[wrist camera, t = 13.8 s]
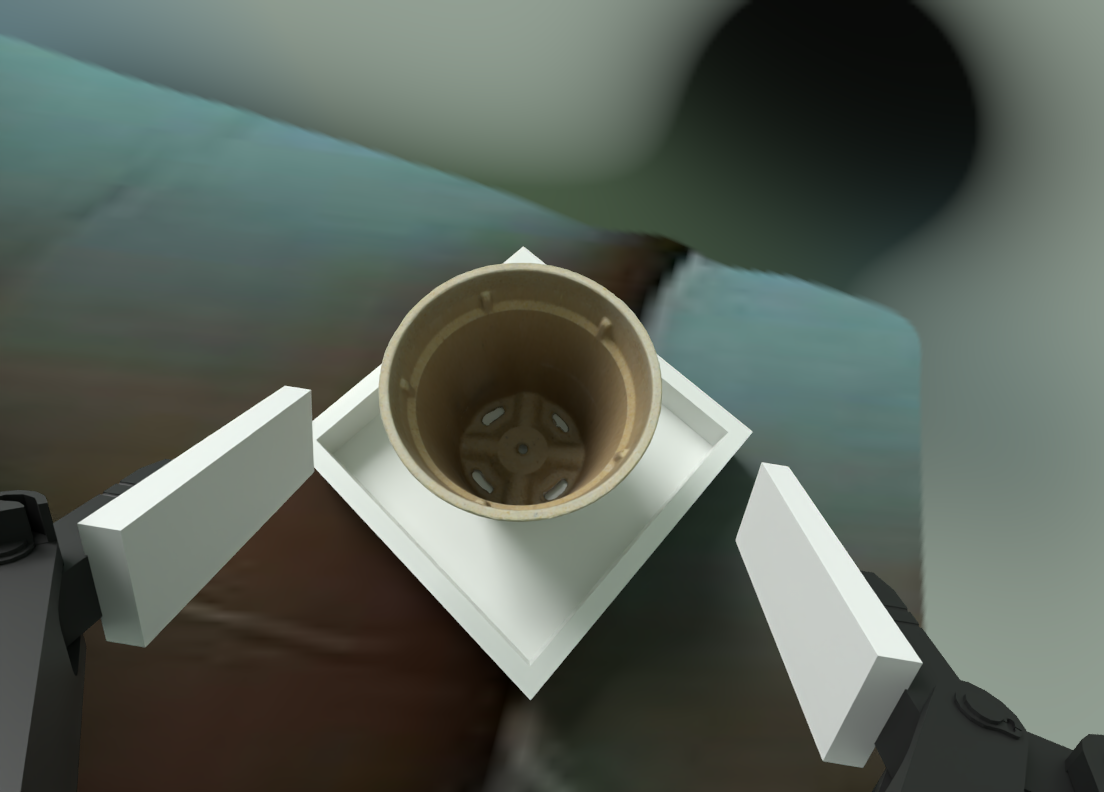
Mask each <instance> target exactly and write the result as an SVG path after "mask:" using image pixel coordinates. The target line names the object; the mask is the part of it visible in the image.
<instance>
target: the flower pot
mask: <svg viewBox="0 0 1104 792" xmlns="http://www.w3.org/2000/svg"><path fill="white" fill-rule="evenodd" d="M382 362H383V363H382V366H381V370H380V376H379V389H378V392H379V408H380V414H381V418H382V422H383V425H384V428H385V431H386V433H387V435H388V438H389V441H390V443H391V445H392V446H393V448H394V450H395V452H396V454H397V455H398V457H399V458H400V460H401V461H402V463H403V464H404V466H405V467H406V468H407V469H408V471H409V472H410V473H411V474H412V475H413V476H414V477H415V478H416V479H417V480H418V481H419V482H420V483H421V484H422V485H423V486H424V487H425V488H426V489H428V490H429V491H430V492H432V493H433V494H434V495H436V496H437V497H438V498H440V499H442V500H443V501H445V502H447V503H448V504H450V505H452V506H454V507H457V508H459V509H461V510H463V511H466V512H468V513H471V514H474V515H477V516H480V517H484V518H489V519H493V520H498V521H509V522H527V521H540V520H545V519H551V518H556V517H560V516H563V515H566V514H569V513H572V512H575V511H577V510H580V509H582V508H584V507H586V506H588V505H590V504H592V503H594V502H596V501H597V500H599V499H600V498H602V497H603V496H605V495H606V494H608V493H609V492H611V491H612V490H613V489H614V488H615V487H617V486H618V485H619V484H620V483H621V482H622V481H623V480H624V479H625V478H626V477H627V476H628V475H629V474H630V472H631V471H632V470H633V469H634V468H635V466H636V465H637V464H638V462H639V461H640V460H641V458H642V457H643V455H644V453H645V452H646V450H647V448H648V447H649V445H650V443H651V440H652V438H653V435H654V433H655V430H656V427H657V424H658V420H659V416H660V412H661V403H662V378H661V370H660V363H659V361H658V357H657V354H656V351H655V349H654V345H653V343H652V342H651V339H650V337H649V335H648V333H647V331H646V330H645V328H644V327H643V325H642V323H641V322H640V321H639V320H638V318H637V317H636V315H635V314H634V313H633V312H632V311H631V310H630V309H629V308H628V306H627V305H626V304H625V303H624V302H623V301H621V300H620V299H619V298H617V297H616V296H615V295H614V294H613V293H611V292H609V291H608V290H607V289H606V288H604V287H602V286H601V285H599V284H598V283H596V282H594V281H592V280H591V279H589V278H587V277H584V276H582V275H580V274H578V273H574V272H572V271H569V270H566V269H563V268H559V267H555V266H548V265H544V264H536V263H507V264H498V265H491V266H486V267H482V268H478V269H474V270H472V271H469V272H466V273H464V274H462V275H458V276H456V277H454V278H453V279H450V280H449V281H447V282H445V283H443V284H442V285H440V286H438V287H437V288H436V289H434V290H433V291H432V292H431V293H429V294H428V295H427V296H425V297H424V298H423V299H422V300H421V301H420V302H419V303H418V304H417V305H415V306H414V307H413V309H412V310H411V311H410V312H409V313H408V314H407V315H406V317H405V318H404V319H403V321H402V323H401V324H400V326H399V328H398V329H397V330H396V332H395V333H394V335H393V337H392V338H391V340H390V342H389V345H388V347H387V349H386V351H385V354H384V358H383V361H382ZM501 407H502V408H503V410H504V413H503V414H502V415H501V416H499V417H498V418H497V419H495V420H494V421H492V422H491V423H490V424H489V425H485V424H484V423H483V422H482V420H483V417H484V416H485V415H486V414H488V413H490V412H492V411H494V410H496V409H497V408H501ZM554 414H557V416H559V417H560V418H561V419H562V420H563V421H564V422H565V424H566V425H567V427H568V431H567V432H564V430H563V429H562V428H561V427H560V426H556V425H557V423H556V421H555V420H554V419H553V415H554ZM520 445H525V446H526V447H527V452H526V453H524V454H522V453H520V452H519V446H520ZM475 470H477V471H480V472H481V473H482V474H483V477H484V478H485V480H486V481H487V482H488V483H489V484H490V485H491V486H492V488H493V491H492V492H491V493H489V492H488V491H487V490H485V489H483V488H482V487H481V486H480V485H479V484H478V483H477V482H476V481H475V480H474V478H473V476H472V473H473V472H474V471H475ZM561 480H565V481H566V482H567V487H566V488H565V490H564V491H563V493H562V494H560V495H559V496H558V497H557V498H555V499H552V500H547V499H546V498H545V494H546V493H548V492H549V491H550V490H552V489H553V488H554V487H555V486H556V485H557V484H558V483H560V482H561Z"/></svg>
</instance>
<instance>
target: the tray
mask: <svg viewBox="0 0 1104 792" xmlns="http://www.w3.org/2000/svg"><path fill="white" fill-rule="evenodd" d="M507 263H536V264H544V263H543V262H542V261H541V260H540V259H538V258H537V257H536V256H535V255H533V254H532V253H531V252H530V251H528V250H527V249H526V248H525V247H522V248H521V249H520V250H519V251H517V252H516V253H515V254H514V255H513V256H511V257H510V258H509V259H508V260H507V261H505V262H504V263H503V264H507ZM544 265H546V264H544ZM657 357H658V361H659V363H660V370H661V378H662V403H661V412H660V416H659V420H658V424H657V427H656V430H655V433H654V435H653V438H652V440H651V443H650V445H649V447H648V448H647V450H646V452H645V453H644V455H643V457H642V458H641V460H640V461H639V462H638V464H637V465H636V466H635V468H634V469H633V470H632V471H631V472H630V474H629V475H628V476H627V477H626V478H625V479H624V480H623V481H622V482H621V483H620V484H619V485H618V486H617V487H615V488H614V489H613V490H612V491H611V492H609V493H608V494H606V495H605V496H603V497H602V498H600V499H599V500H597V501H596V502H594V503H592V504H590V505H588V506H586V507H584V508H582V509H580V510H577V511H575V512H572V513H569V514H566V515H563V516H560V517H556V518H551V519H545V520H540V521H527V522H509V521H498V520H493V519H489V518H484V517H480V516H477V515H474V514H471V513H468V512H466V511H463V510H461V509H459V508H457V507H454V506H452V505H450V504H448V503H447V502H445V501H443V500H442V499H440V498H438V497H437V496H436V495H434V494H433V493H432V492H430V491H429V490H428V489H426V488H425V487H424V486H423V485H422V484H421V483H420V482H419V481H418V480H417V479H416V478H415V477H414V476H413V475H412V474H411V473H410V472H409V471H408V469H407V468H406V467H405V466H404V464H403V463H402V461H401V460H400V458H399V457H398V455H397V454H396V452H395V450H394V448H393V446H392V445H391V443H390V441H389V438H388V435H387V433H386V431H385V428H384V425H383V422H382V418H381V414H380V408H379V392H378V389H379V376H380V370H381V366H382V364H381V365H380V366H379V367H377V368H376V369H375V370H374V371H373V372H371V373H370V374H369V375H368V376H367V377H365V378H364V379H363V380H362V381H361V382H359V383H358V384H357V385H356V386H355V387H353V388H352V389H351V390H350V391H348V392H347V393H346V394H345V395H344V396H342V397H341V398H340V399H339V400H338V401H336V402H335V403H334V404H333V405H332V406H330V407H329V408H328V409H327V410H326V411H324V412H323V413H322V414H321V415H320V416H318V417H317V418H316V419H315V420H314V421H312V430H313V457H314V467H315V468H316V470H317V471H318V472H319V473H320V474H321V475H322V476H323V477H324V478H325V479H326V480H327V481H328V482H329V484H330V485H331V486H332V487H333V488H334V489H335V490H336V491H337V492H338V493H339V494H340V495H341V497H342V498H343V499H344V500H345V501H346V502H347V503H348V504H349V505H350V506H351V507H352V508H353V509H354V511H355V512H356V513H357V514H358V515H359V516H360V517H361V518H362V519H363V520H364V521H365V522H366V523H367V525H368V526H369V527H370V528H371V529H372V530H373V531H374V532H375V533H376V534H377V535H378V536H379V537H380V539H381V540H382V541H383V542H384V543H385V544H386V545H387V546H388V547H389V548H390V549H391V550H392V552H393V553H394V554H395V555H396V556H397V557H398V558H399V559H400V560H401V561H402V562H403V563H404V564H405V566H406V567H407V568H408V569H409V570H410V571H411V572H412V573H413V574H414V575H415V576H416V577H417V578H418V580H419V581H420V582H421V583H422V584H423V585H424V586H425V587H426V588H427V589H428V590H429V591H430V593H431V594H432V595H433V596H434V597H435V598H436V599H437V600H438V601H439V602H440V603H441V604H442V605H443V607H444V608H445V609H446V610H447V611H448V612H449V613H450V614H451V615H452V616H453V617H454V618H455V619H456V621H457V622H458V623H459V624H460V625H461V626H462V627H463V628H464V629H465V630H466V631H467V632H468V633H469V635H470V636H471V637H472V638H473V639H474V640H475V641H476V642H477V643H478V644H479V645H480V646H481V648H482V649H483V650H484V651H485V652H486V653H487V654H488V655H489V656H490V657H491V658H492V659H493V660H494V662H495V663H496V664H497V665H498V666H499V667H500V668H501V669H502V670H503V671H504V672H505V673H506V674H507V676H508V677H509V678H510V679H511V680H512V681H513V682H514V683H515V684H516V685H517V686H518V687H519V689H520V690H521V691H522V692H523V693H524V694H525V695H526V696H527V697H528V698H529V699H530V700H531V699H532V698H533V697H534V696H535V694H536V693H537V692H538V691H539V690H540V688H541V687H542V686H543V685H544V683H545V682H546V681H547V680H548V679H549V677H550V676H551V675H552V674H553V673H554V671H555V670H556V669H557V668H558V667H559V665H560V664H561V663H562V662H563V661H564V659H565V658H566V657H567V656H568V654H569V653H570V652H571V651H572V650H573V648H574V647H575V646H576V645H577V644H578V642H579V641H580V640H581V639H582V638H583V636H584V635H585V634H586V633H587V632H588V630H589V629H590V628H591V627H592V625H593V624H594V623H595V622H596V621H597V619H598V618H599V617H600V616H601V615H602V613H603V612H604V611H605V610H606V609H607V607H608V606H609V605H610V604H611V603H612V601H613V600H614V599H615V598H616V596H617V595H618V594H619V593H620V592H621V590H622V589H623V588H624V587H625V586H626V584H627V583H628V582H629V581H630V580H631V578H632V577H633V576H634V575H635V573H636V572H637V571H638V570H639V569H640V567H641V566H642V565H643V564H644V563H645V561H646V560H647V559H648V558H649V557H650V555H651V554H652V553H653V552H654V551H655V549H656V548H657V547H658V546H659V544H660V543H661V542H662V541H663V540H664V538H665V537H666V536H667V535H668V534H669V532H670V531H671V530H672V529H673V528H674V526H675V525H676V524H677V523H678V522H679V520H680V519H681V518H682V517H683V515H684V514H685V513H686V512H687V511H688V509H689V508H690V507H691V506H692V505H693V503H694V502H695V501H696V500H697V499H698V497H699V496H700V495H701V494H702V493H703V491H704V490H705V489H706V488H707V486H708V485H709V484H710V483H711V482H712V480H713V479H714V478H715V477H716V476H717V474H718V473H719V472H720V471H721V470H722V468H723V467H724V466H725V465H726V463H727V462H728V461H729V460H730V459H731V457H732V456H733V455H734V454H735V453H736V451H737V450H738V449H739V448H740V447H741V445H742V444H743V443H744V442H745V441H746V439H747V438H748V437H749V436H750V434H751V433H752V431H751V430H750V429H749V428H747V427H746V426H745V425H744V424H742V423H741V422H740V421H739V420H737V419H736V418H735V417H734V416H733V415H731V414H730V413H729V412H728V411H726V410H725V409H724V408H723V407H721V406H720V405H719V404H718V403H716V402H715V401H714V400H713V399H711V398H710V397H709V396H708V395H707V394H705V393H704V392H703V391H702V390H700V389H699V388H698V387H697V386H695V385H694V384H693V383H692V382H690V381H689V380H688V379H687V378H686V377H684V376H683V375H682V374H681V373H679V372H678V371H677V370H676V369H674V368H673V367H672V366H671V365H669V364H668V363H667V362H666V361H664V360H663V359H662V358H661V357H660V356H658V355H657ZM503 413H504V410H503V408H502V407H501V408H497V409H496V410H494V411H492V412H490V413H488V414H486V415H485V416H484V417H483V420H482V422H483V423H484V424H485V425H489V424H490V423H491V422H492V421H494V420H495V419H497V418H498V417H499V416H501V415H502V414H503ZM553 419H554V420H555V421H556V423H557V425H556V426H560V427H561V428H562V429H563V430H564V432H567V431H568V427H567V425H566V424H565V422H564V421H563V420H562V419H561V418H560V417H559V416H557V414H554V415H553ZM519 452H520V453H522V454H524V453H526V452H527V447H526V446H525V445H520V446H519ZM472 476H473V478H474V480H475V481H476V482H477V483H478V484H479V485H480V486H481V487H482V488H483V489H485V490H487V491H488V492H489V493H491V492H492V491H493V488H492V486H491V485H490V484H489V483H488V482H487V481H486V480H485V478H484V477H483V474H482V473H481V472H480V471H477V470H475V471H474V472H473V473H472ZM566 487H567V482H566V481H565V480H561V482H560V483H558V484H557V485H556V486H555V487H554V488H553V489H552V490H550V491H549V492H548V493H546V494H545V498H546V499H547V500H552V499H555V498H557V497H558V496H559V495H560V494H562V493H563V491H564V490H565V488H566Z"/></svg>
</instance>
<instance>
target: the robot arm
mask: <svg viewBox="0 0 1104 792" xmlns="http://www.w3.org/2000/svg"><path fill="white" fill-rule="evenodd" d="M313 472H314V457H313V430H312V403H311V390H308V389H302V388H295V387H289V386H284V387H283V388H281V389H279V390H278V391H276V392H275V393H273V394H272V395H270V396H269V397H267V398H266V399H264V400H263V401H261V402H260V403H258V404H257V405H255V406H254V407H252V408H251V409H249V410H248V411H246V412H245V413H243V414H242V415H240V416H239V417H237V418H236V419H234V420H233V421H231V422H230V423H228V424H227V425H225V426H224V427H222V428H221V429H219V430H218V431H216V432H215V433H213V434H212V435H210V436H209V437H207V438H206V439H204V440H203V441H201V442H199V443H198V444H196V445H195V446H193V447H192V448H190V449H189V450H187V451H186V452H184V453H183V454H181V455H180V456H178V457H177V458H175V459H174V460H169V459H164V460H162V461H159V462H156V463H154V464H151V465H148V466H146V467H143V468H140V469H139V470H137V471H135V472H134V473H132V474H131V475H129V476H127V477H126V478H124V479H123V480H121V481H120V483H119V484H115V485H113V486H112V487H110V488H109V489H107V490H105V491H104V492H103V494H102V495H100V494H99V495H97V496H96V497H94V498H93V499H91V500H90V501H88V502H86V503H85V504H83V505H82V506H80V507H79V508H77V509H75V510H74V511H72V512H71V513H69V514H67V515H66V516H64V517H63V518H61V519H60V520H58V521H56V522H55V523H53V522H52V518H51V514H50V511H49V507H48V503H47V500H46V497H45V496H44V495H42V494H40V493H38V492H35V491H25V490H15V491H4V492H0V792H77V781H78V766H79V751H80V735H81V720H82V705H83V690H84V675H85V659H86V644H85V640H84V636H83V633H84V632H85V631H86V630H87V629H88V628H90V627H91V626H92V625H93V624H94V623H95V622H96V621H97V620H99V619H100V618H101V621H102V625H103V629H104V633H105V637H106V641H111V642H117V643H122V644H128V645H134V646H140V647H146V646H147V645H148V644H149V643H150V642H151V641H152V640H153V639H154V638H155V637H156V636H157V635H158V634H159V633H160V632H161V630H162V629H163V628H164V627H165V626H166V625H167V624H168V623H169V622H170V621H171V620H172V619H173V618H174V617H175V616H176V615H177V614H178V613H179V612H180V611H181V610H182V609H183V608H184V607H185V606H186V604H187V603H188V602H189V601H190V600H191V599H192V598H193V597H194V596H195V595H196V594H197V593H198V592H199V591H200V590H201V589H202V588H203V587H204V586H205V585H206V584H207V583H208V582H209V581H210V580H211V578H212V577H213V576H214V575H215V574H216V573H217V572H218V571H219V570H220V569H221V568H222V567H223V566H224V565H225V564H226V563H227V562H228V561H229V560H230V559H231V558H232V557H233V556H234V555H235V554H236V553H237V551H238V550H239V549H240V548H241V547H242V546H243V545H244V544H245V543H246V542H247V541H248V540H249V539H250V538H251V537H252V536H253V535H254V534H255V533H256V532H257V531H258V530H259V529H260V528H261V527H262V525H263V524H264V523H265V522H266V521H267V520H268V519H269V518H270V517H271V516H272V515H273V514H274V513H275V512H276V511H277V510H278V509H279V508H280V507H281V506H282V505H283V504H284V503H285V502H286V501H287V499H288V498H289V497H290V496H291V495H292V494H293V493H294V492H295V491H296V490H297V489H298V488H299V487H300V486H301V485H302V484H303V483H304V482H305V481H306V480H307V479H308V478H309V477H310V476H311V475H312V473H313ZM735 541H736V543H737V546H738V548H739V551H740V553H741V556H742V558H743V561H744V563H745V566H746V569H747V571H748V574H749V576H750V579H751V581H752V584H753V586H754V589H755V591H756V594H757V596H758V599H759V601H760V604H761V606H762V609H763V611H764V614H765V616H766V619H767V622H768V624H769V627H770V629H771V632H772V634H773V637H774V639H775V642H776V644H777V647H778V649H779V652H780V654H781V657H782V659H783V662H784V664H785V667H786V670H787V672H788V675H789V677H790V680H791V682H792V685H793V687H794V690H795V692H796V695H797V697H798V700H799V702H800V705H801V707H802V710H803V712H804V715H805V718H806V720H807V723H808V725H809V728H810V730H811V733H812V735H813V738H814V740H815V743H816V745H817V748H818V750H819V753H820V755H821V758H822V760H823V761H825V762H831V763H837V764H843V765H849V766H855V767H861V768H863V767H864V765H865V764H866V762H867V760H868V758H869V757H870V755H871V753H872V751H873V750H874V748H875V746H876V748H877V750H878V752H879V754H880V756H881V758H882V760H883V762H884V764H885V766H886V769H885V771H884V773H883V774H882V776H881V778H880V779H879V781H878V783H877V784H876V786H875V788H874V789H873V791H872V792H1104V735H1094V734H1088V735H1087V736H1086V737H1085V738H1083V739H1082V740H1081V741H1080V743H1079V744H1078V745H1077V746H1076V748H1075V749H1074V750H1071V749H1069V748H1066V747H1064V746H1061V745H1059V744H1056V743H1054V742H1051V741H1049V740H1046V739H1044V738H1042V737H1039V736H1037V735H1034V734H1031V733H1029V732H1027V731H1026V729H1025V728H1024V727H1023V725H1022V724H1021V722H1020V721H1019V719H1018V718H1017V716H1016V715H1015V714H1014V713H1013V712H1012V711H1011V710H1009V708H1007V707H1006V706H1005V705H1004V704H1003V703H1002V702H1001V701H1000V700H998V699H997V698H995V697H994V696H992V695H991V694H989V693H988V692H987V691H985V690H983V689H981V688H979V687H977V686H975V685H973V684H971V683H969V682H965V681H961V680H960V679H959V678H958V677H957V675H956V674H955V672H954V671H953V670H952V668H951V667H950V666H949V664H948V663H947V662H946V660H945V659H944V657H943V656H942V655H941V653H940V652H939V651H938V649H937V648H936V647H935V645H934V644H933V642H932V641H931V640H930V638H929V637H928V636H927V634H926V633H925V632H924V630H923V629H922V628H920V627H919V623H918V622H917V621H916V619H915V618H914V617H913V615H912V614H911V613H910V612H908V611H907V607H906V606H905V604H904V603H903V602H902V600H901V599H900V598H899V596H898V595H897V594H896V592H895V591H894V590H893V589H892V588H891V587H890V586H888V585H887V584H886V583H885V582H884V581H883V580H881V579H880V578H879V577H878V576H877V575H875V574H874V573H872V572H866V571H860V570H859V569H858V568H857V566H856V565H855V563H854V562H853V560H852V559H851V557H850V556H849V554H848V553H847V552H846V550H845V549H844V547H843V546H842V544H841V543H840V541H839V540H838V538H837V537H836V535H835V534H834V533H833V531H832V530H831V528H830V527H829V525H828V524H827V522H826V521H825V519H824V518H823V516H822V515H821V514H820V512H819V511H818V509H817V508H816V506H815V505H814V503H813V502H812V500H811V499H810V497H809V496H808V495H807V493H806V492H805V490H804V489H803V487H802V486H801V484H800V483H799V481H798V480H797V478H796V477H795V476H794V474H793V473H792V471H791V470H790V468H789V467H787V466H781V465H775V464H768V463H761V466H760V469H759V472H758V475H757V478H756V481H755V484H754V487H753V490H752V493H751V496H750V499H749V502H748V505H747V508H746V511H745V514H744V516H743V519H742V522H741V525H740V528H739V531H738V534H737V537H736V540H735Z"/></svg>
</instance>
